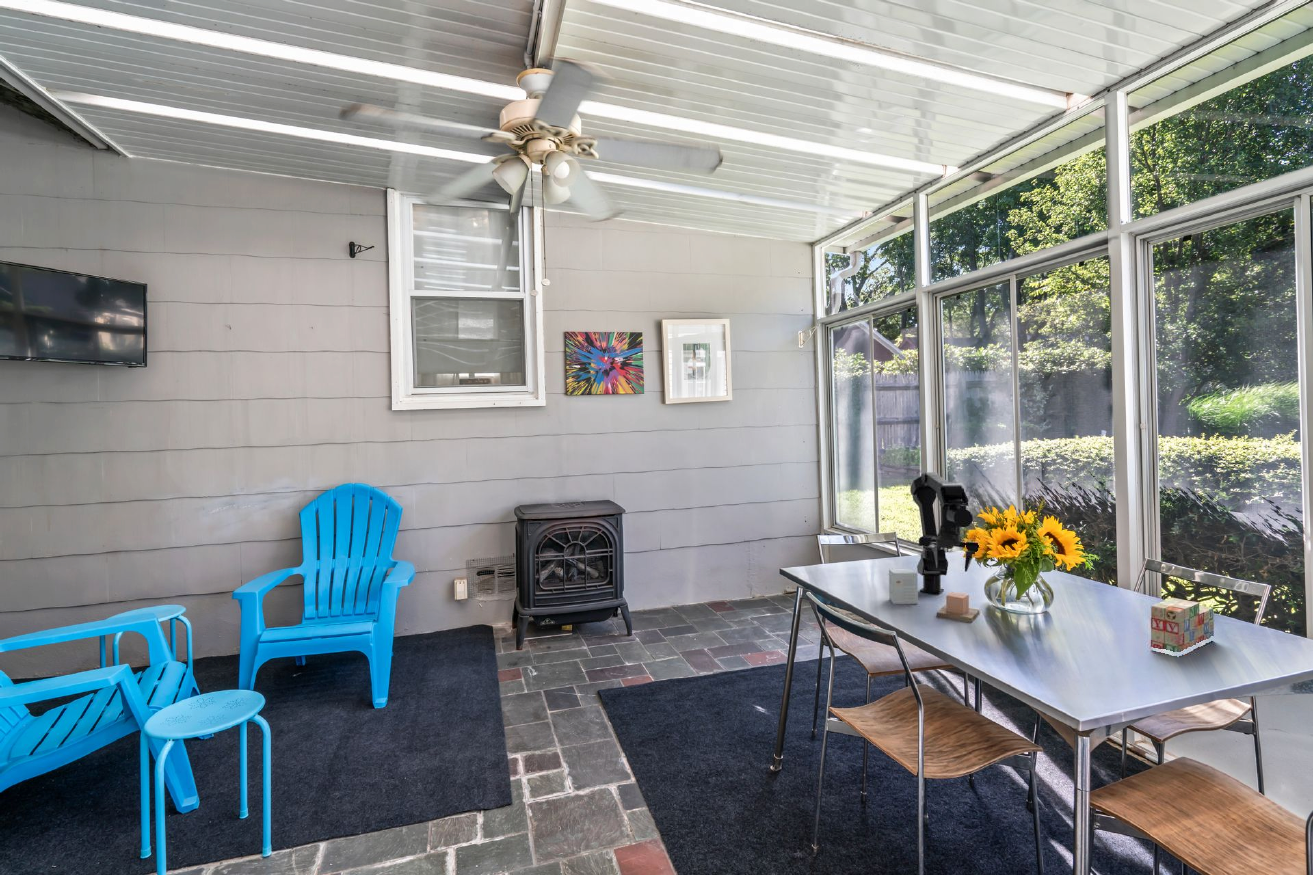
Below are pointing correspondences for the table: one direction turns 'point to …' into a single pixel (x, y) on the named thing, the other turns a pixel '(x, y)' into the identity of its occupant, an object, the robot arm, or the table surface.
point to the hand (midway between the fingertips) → (950, 569)
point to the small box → (903, 586)
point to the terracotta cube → (957, 603)
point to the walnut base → (959, 615)
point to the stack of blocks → (1180, 624)
